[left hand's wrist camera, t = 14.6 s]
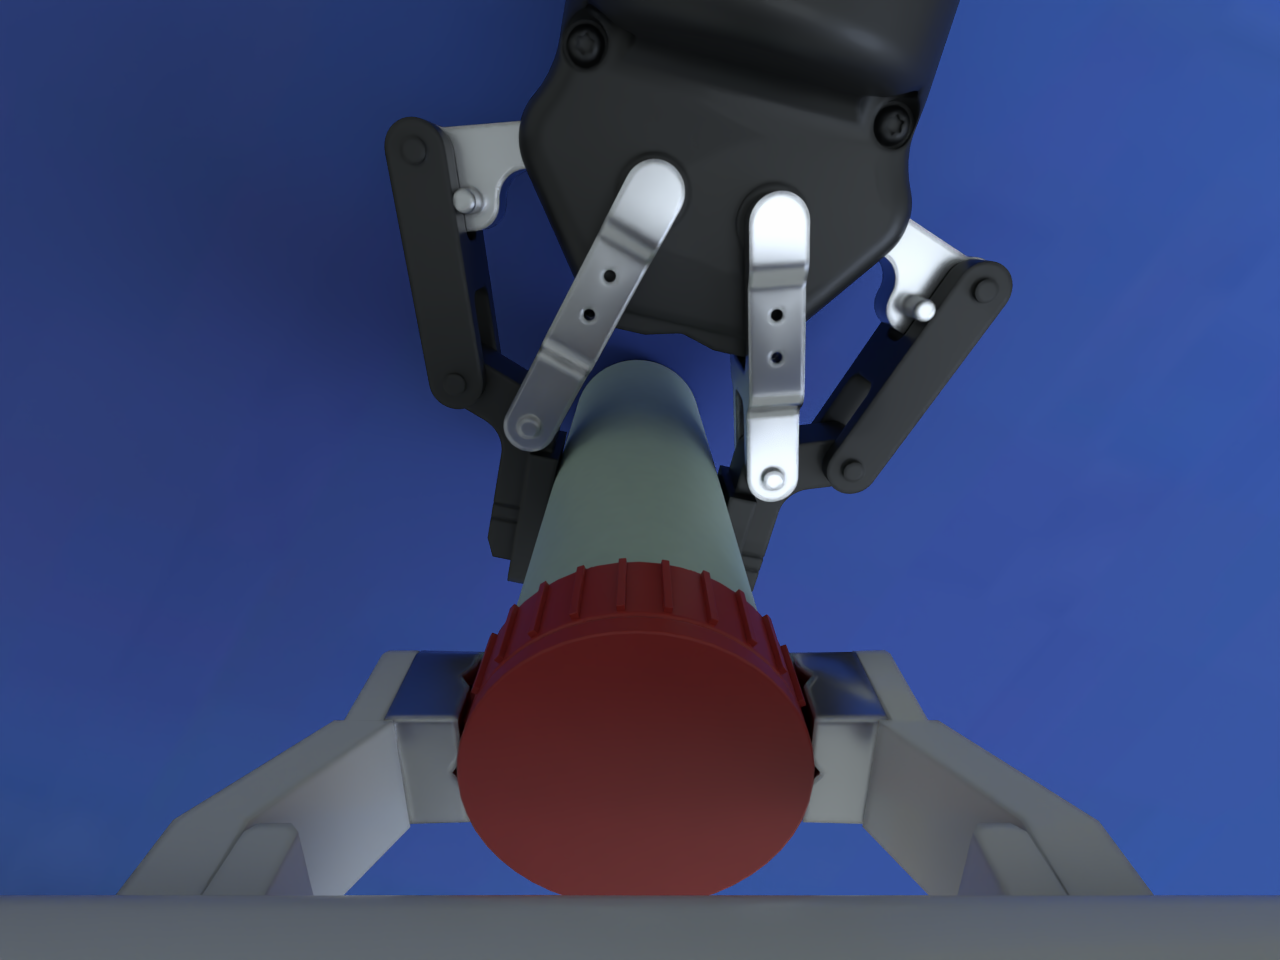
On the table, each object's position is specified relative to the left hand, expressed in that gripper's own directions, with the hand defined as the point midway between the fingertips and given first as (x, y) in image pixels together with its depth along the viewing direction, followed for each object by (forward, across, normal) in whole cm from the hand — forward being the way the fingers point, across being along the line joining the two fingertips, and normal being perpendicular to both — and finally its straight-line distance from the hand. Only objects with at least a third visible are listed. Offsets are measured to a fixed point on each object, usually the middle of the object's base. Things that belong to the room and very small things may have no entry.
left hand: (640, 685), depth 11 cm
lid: (-2, 0, 0) cm, 2 cm away
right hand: (+8, -1, -3) cm, 8 cm away
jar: (+14, 0, 0) cm, 14 cm away
